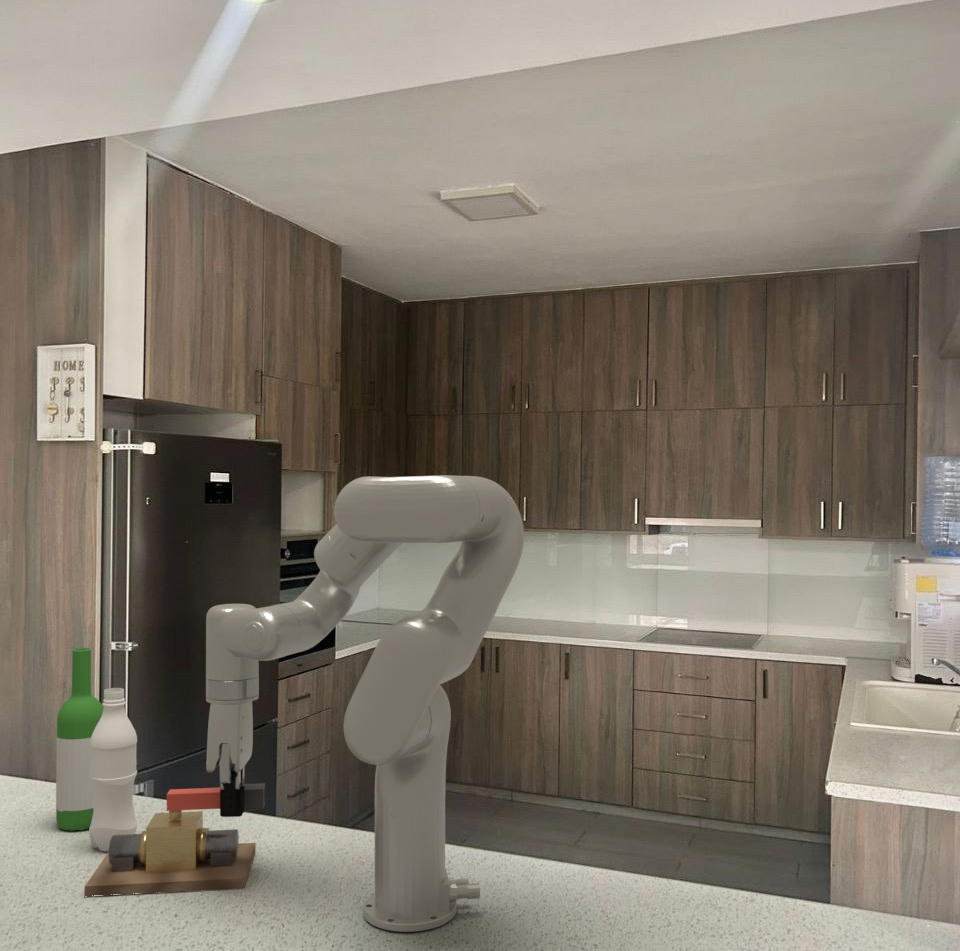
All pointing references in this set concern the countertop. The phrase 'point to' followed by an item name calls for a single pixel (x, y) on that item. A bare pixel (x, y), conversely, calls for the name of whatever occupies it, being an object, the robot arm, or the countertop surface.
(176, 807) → the valve lever
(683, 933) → the countertop surface
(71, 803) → the wine bottle
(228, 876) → the mounting board
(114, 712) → the water bottle
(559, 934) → the countertop surface
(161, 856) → the ball valve
